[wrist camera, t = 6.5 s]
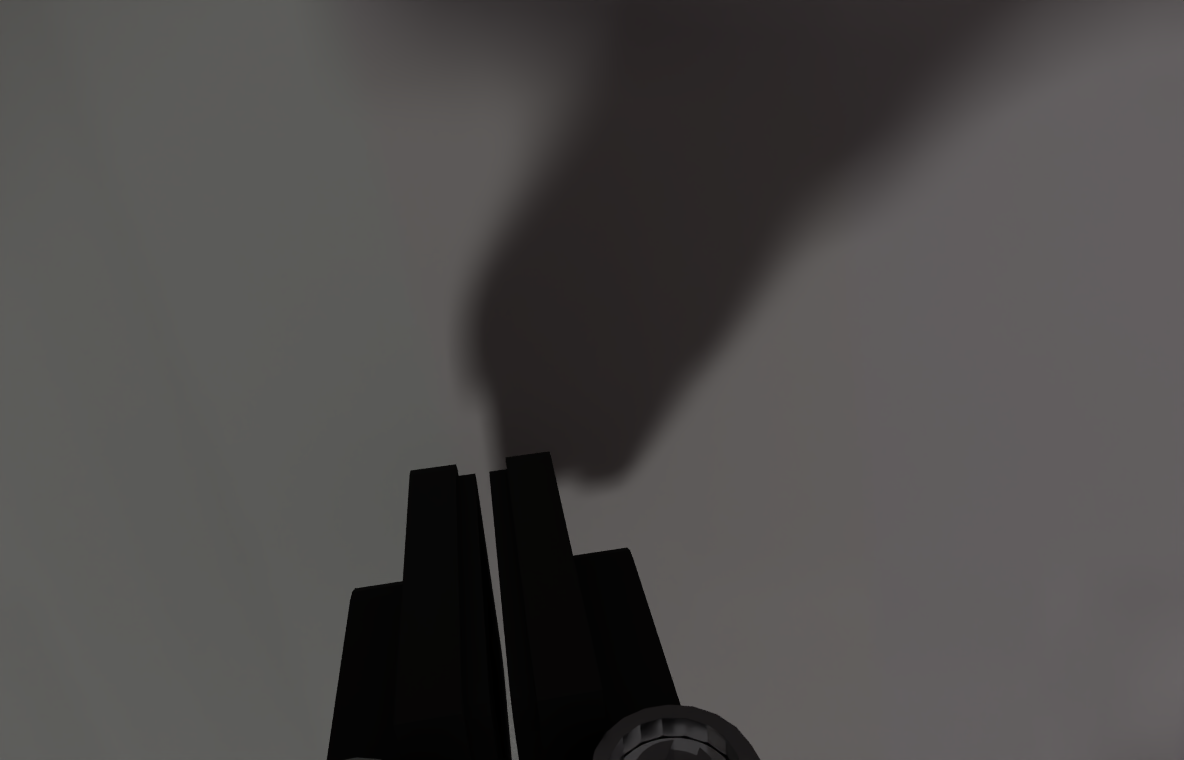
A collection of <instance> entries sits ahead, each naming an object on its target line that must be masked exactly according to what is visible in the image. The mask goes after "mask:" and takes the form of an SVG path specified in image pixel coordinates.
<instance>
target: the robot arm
mask: <svg viewBox="0 0 1184 760" xmlns="http://www.w3.org/2000/svg"><path fill="white" fill-rule="evenodd" d="M506 465H507V469H505V470H498V471H491V472H489V473H490V484H491V495H492V506H493V517H494V527H495V538H496V549H497V559H498V570H499V581H500V592H501V602H502V613H503V624H504V635H505V645H506V656H507V667H508V677H509V687H510V696H511V705H512V713H513V721H514V728H515V735H516V742H517V749H518V756H519V760H760V758H759V757H758V755H757V753H756V752H755V750H754V748H753V747H752V745H751V744H750V743H749V741H748V740H747V739H746V738H745V737H744V736H743V734H742V733H741V732H740V731H739V730H738V728H737V727H735V726H734V725H732V724H731V723H729V722H728V721H726V720H725V719H723V718H722V717H720V716H719V715H717V714H715V713H712V712H709V711H706V710H703V709H699V708H696V707H693V706H681V705H680V702H679V699H678V696H677V693H676V689H675V686H674V683H673V680H672V677H671V674H670V671H669V668H668V665H667V662H666V659H665V656H664V652H663V649H662V646H661V643H660V640H659V637H658V634H657V631H656V628H655V625H654V622H653V618H652V615H651V612H650V609H649V606H648V603H647V600H646V597H645V594H644V591H643V588H642V585H641V581H640V578H639V575H638V572H637V569H636V566H635V563H634V560H633V557H632V554H631V552H630V550H629V549H628V548H621V549H615V550H608V551H601V552H595V553H588V554H581V555H575V556H573V554H572V549H571V545H570V540H569V536H568V531H567V527H566V522H565V518H564V513H563V509H562V504H561V500H560V495H559V491H558V486H557V482H556V477H555V473H554V468H553V464H552V459H551V455H550V452H543V453H535V454H528V455H521V456H513V457H506ZM327 760H512V757H511V746H510V734H509V723H508V712H507V700H506V689H505V677H504V668H503V659H502V651H501V644H500V637H499V630H498V623H497V617H496V610H495V603H494V596H493V589H492V583H491V576H490V569H489V562H488V555H487V549H486V542H485V535H484V528H483V521H482V515H481V508H480V501H479V494H478V487H477V481H476V475H475V474H469V475H462V476H459V475H458V470H457V466H456V464H455V465H448V466H440V467H433V468H426V469H418V470H411V471H410V478H409V494H408V509H407V525H406V540H405V555H404V571H403V581H401V582H395V583H388V584H381V585H375V586H368V587H361V588H355V589H354V590H353V592H352V595H351V599H350V605H349V612H348V619H347V626H346V632H345V639H344V646H343V653H342V660H341V667H340V673H339V680H338V687H337V694H336V701H335V707H334V714H333V721H332V728H331V735H330V742H329V748H328V755H327Z"/></svg>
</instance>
